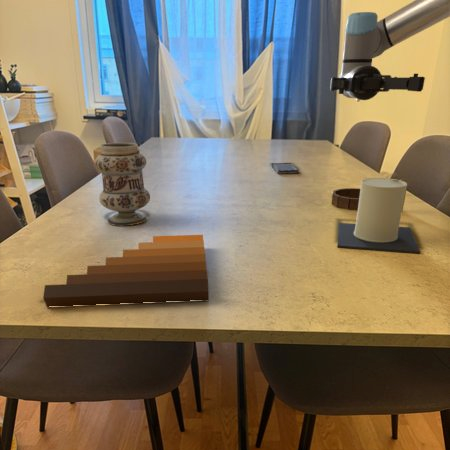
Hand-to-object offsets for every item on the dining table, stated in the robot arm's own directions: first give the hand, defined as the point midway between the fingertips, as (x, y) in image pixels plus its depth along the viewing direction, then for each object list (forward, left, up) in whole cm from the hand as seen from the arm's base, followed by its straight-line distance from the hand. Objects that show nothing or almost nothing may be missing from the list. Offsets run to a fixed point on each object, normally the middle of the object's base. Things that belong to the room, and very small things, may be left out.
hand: (387, 84), depth 88 cm
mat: (-2, +9, -30) cm, 31 cm away
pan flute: (+41, +39, -30) cm, 64 cm away
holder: (-1, -19, -30) cm, 36 cm away
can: (-2, +9, -30) cm, 31 cm away
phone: (+27, -64, -30) cm, 76 cm away
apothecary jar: (+57, +9, -30) cm, 65 cm away
